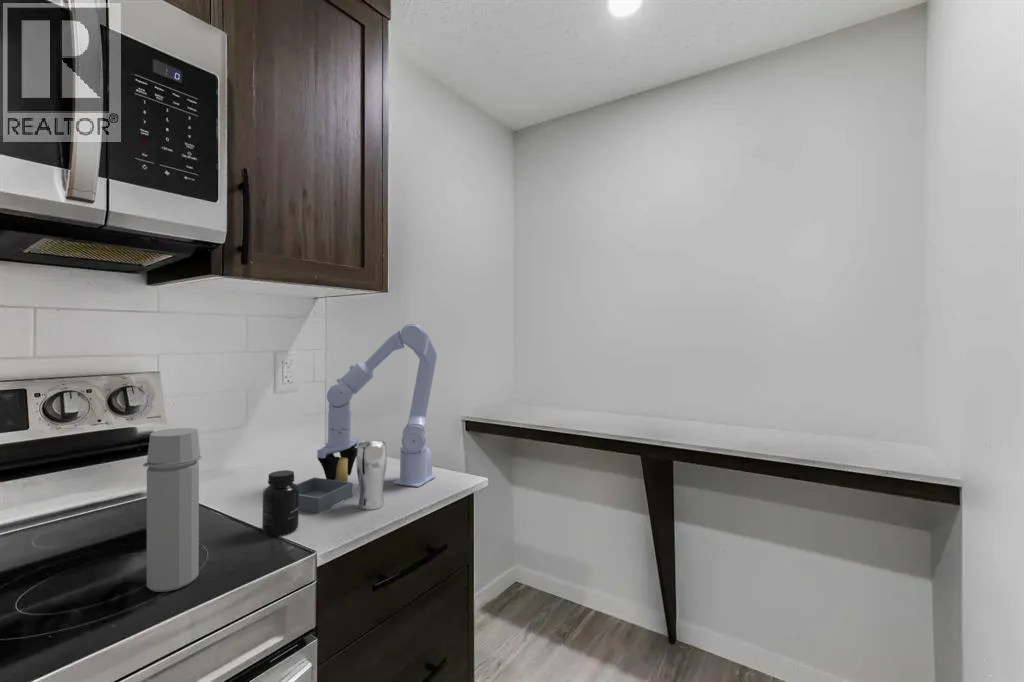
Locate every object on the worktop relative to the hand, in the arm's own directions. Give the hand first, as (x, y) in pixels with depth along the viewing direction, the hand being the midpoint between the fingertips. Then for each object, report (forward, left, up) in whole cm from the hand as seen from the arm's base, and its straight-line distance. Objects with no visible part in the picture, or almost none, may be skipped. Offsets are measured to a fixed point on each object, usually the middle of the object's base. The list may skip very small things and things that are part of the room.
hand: (339, 478), depth 129 cm
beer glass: (+9, +17, -2) cm, 19 cm away
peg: (0, 0, -2) cm, 2 cm away
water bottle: (+50, +7, -2) cm, 51 cm away
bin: (+12, +3, -2) cm, 13 cm away
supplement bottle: (+28, +8, -2) cm, 29 cm away
